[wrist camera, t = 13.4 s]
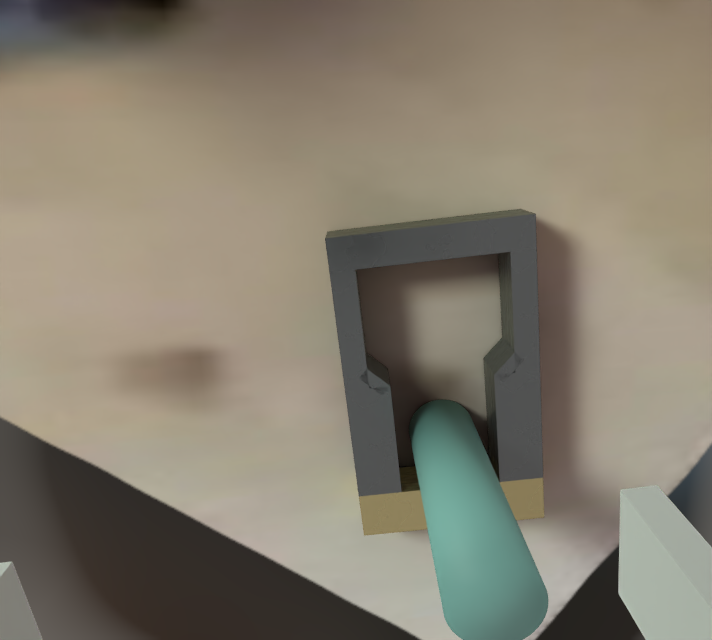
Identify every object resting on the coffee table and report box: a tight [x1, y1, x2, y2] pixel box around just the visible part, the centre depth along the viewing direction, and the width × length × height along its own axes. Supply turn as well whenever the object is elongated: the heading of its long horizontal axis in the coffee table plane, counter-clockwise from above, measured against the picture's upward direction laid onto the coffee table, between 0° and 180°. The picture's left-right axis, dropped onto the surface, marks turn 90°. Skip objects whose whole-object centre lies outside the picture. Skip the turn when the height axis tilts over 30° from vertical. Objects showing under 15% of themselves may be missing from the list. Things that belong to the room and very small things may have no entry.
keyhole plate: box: [325, 209, 544, 535], centre depth 37 cm, size 20×12×3 cm, turn 7°
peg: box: [409, 400, 548, 640], centre depth 32 cm, size 4×4×16 cm
